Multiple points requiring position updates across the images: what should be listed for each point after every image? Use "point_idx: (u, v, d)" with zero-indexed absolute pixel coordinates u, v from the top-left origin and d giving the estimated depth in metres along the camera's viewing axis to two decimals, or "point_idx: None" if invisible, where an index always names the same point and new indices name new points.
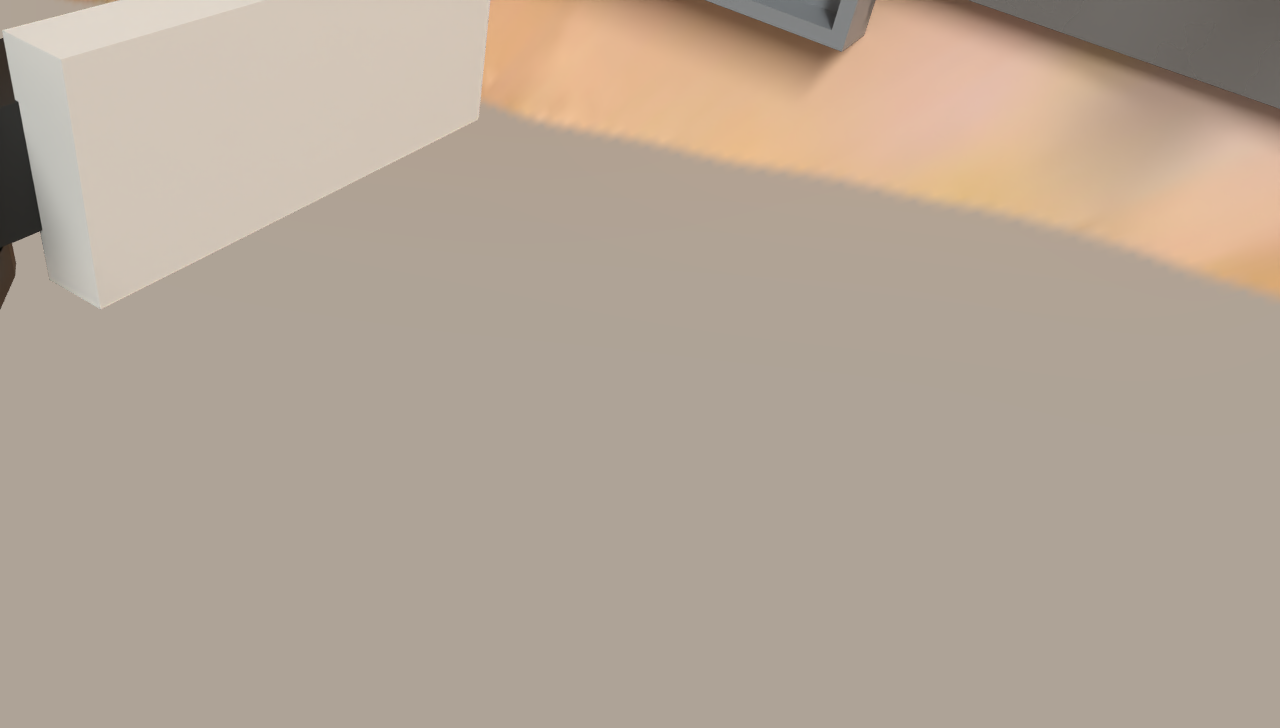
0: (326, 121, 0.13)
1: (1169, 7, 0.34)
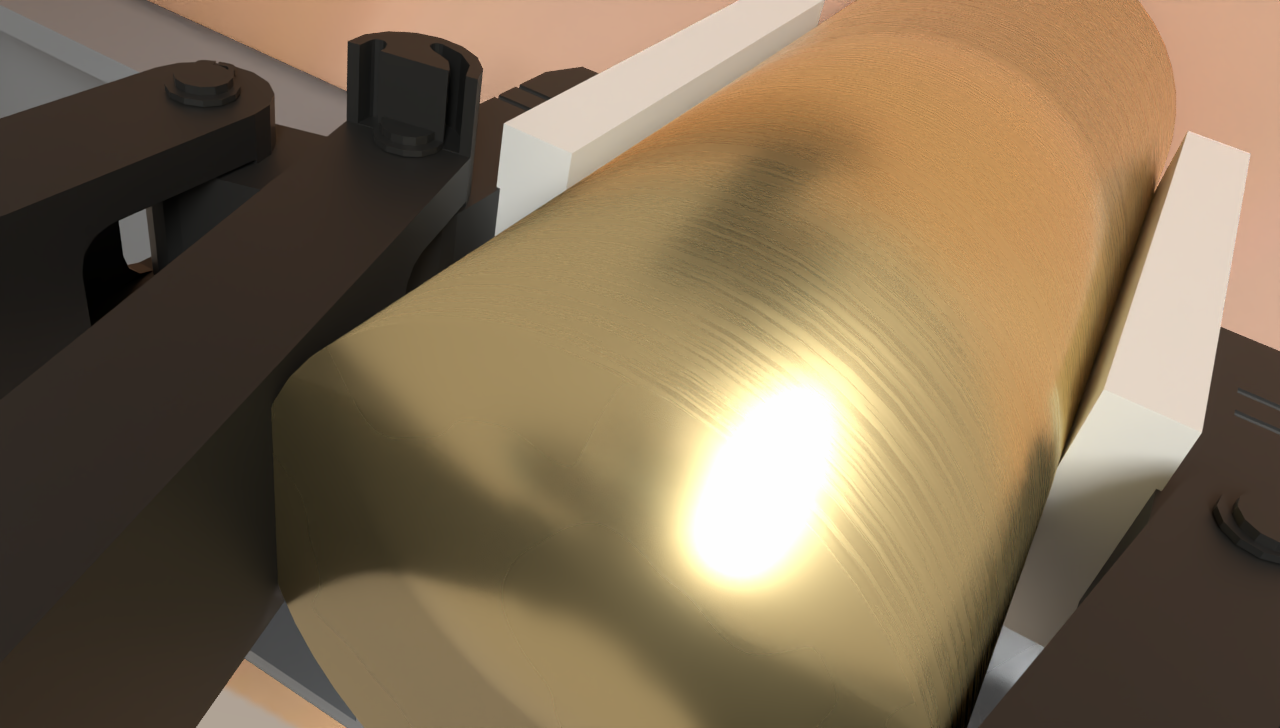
0: None
1: None
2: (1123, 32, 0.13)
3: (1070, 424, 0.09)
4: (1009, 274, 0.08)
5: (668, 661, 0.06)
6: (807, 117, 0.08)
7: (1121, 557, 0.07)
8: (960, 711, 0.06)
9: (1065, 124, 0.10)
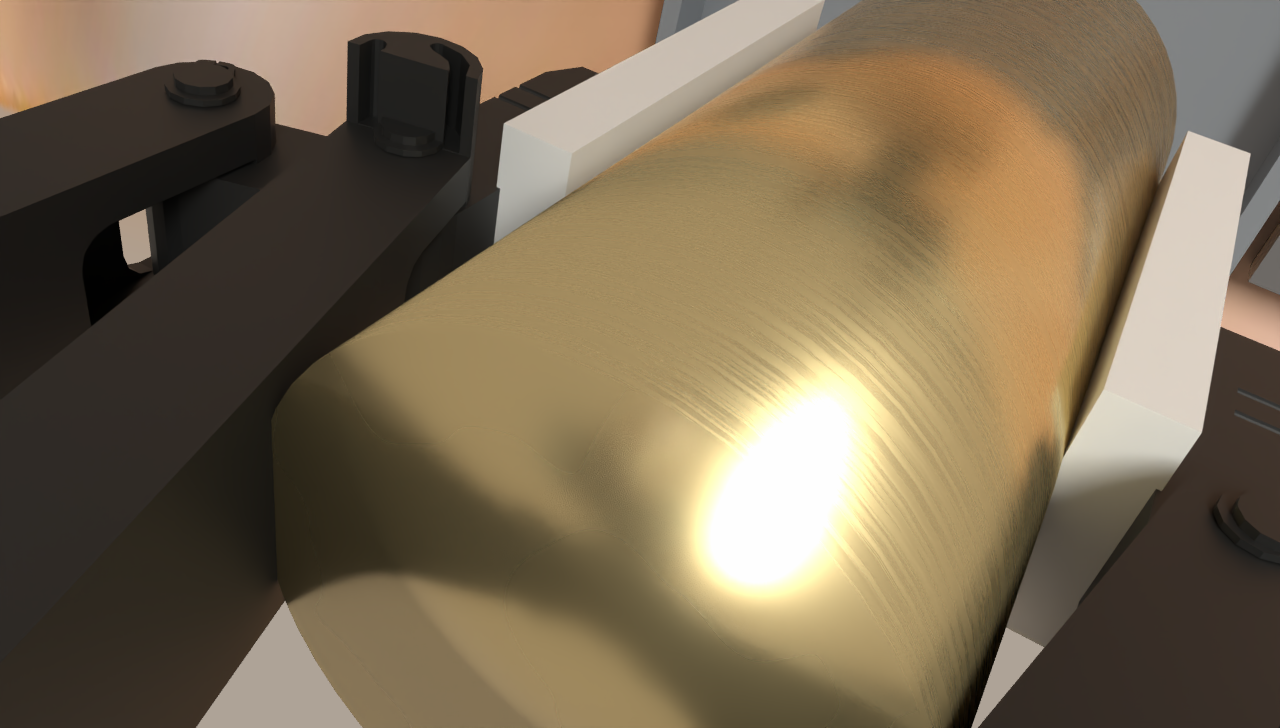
0: None
1: None
2: (1124, 35, 0.13)
3: (1072, 429, 0.09)
4: (1010, 279, 0.08)
5: (672, 668, 0.06)
6: (809, 122, 0.08)
7: (1121, 557, 0.07)
8: (963, 718, 0.06)
9: (1066, 129, 0.10)
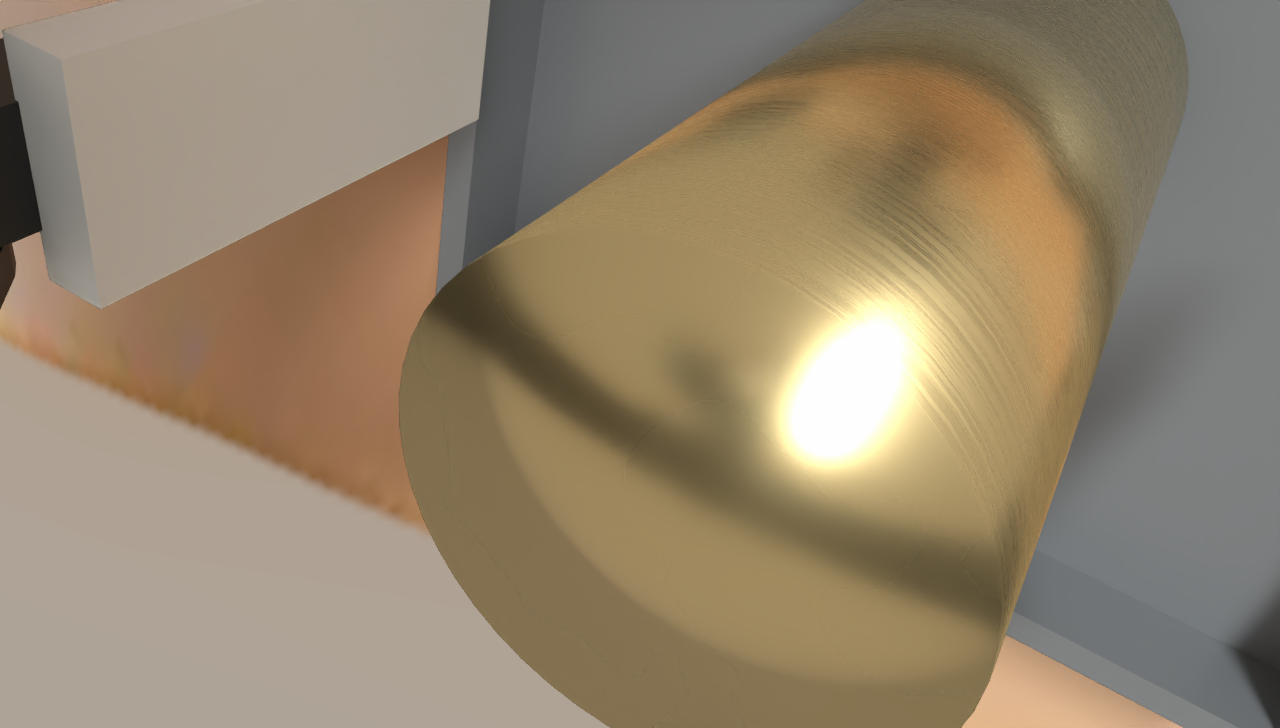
0: (326, 121, 0.13)
1: None
2: (1141, 9, 0.14)
3: (1101, 348, 0.10)
4: (1052, 208, 0.09)
5: (773, 522, 0.07)
6: (871, 73, 0.10)
7: None
8: (1021, 560, 0.07)
9: (1093, 87, 0.11)
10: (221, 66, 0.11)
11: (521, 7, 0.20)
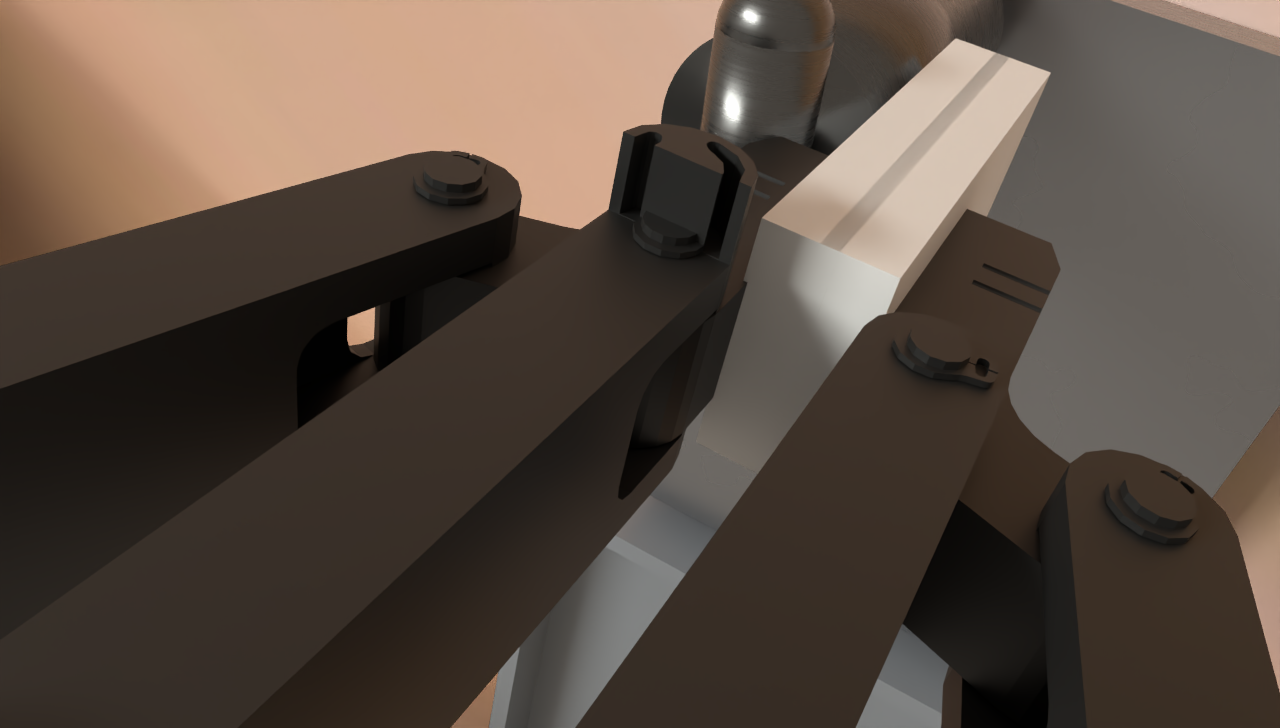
0: None
1: (1154, 410, 0.22)
2: None
3: None
4: None
5: None
6: None
7: (814, 396, 0.08)
8: None
9: None
10: None
11: None
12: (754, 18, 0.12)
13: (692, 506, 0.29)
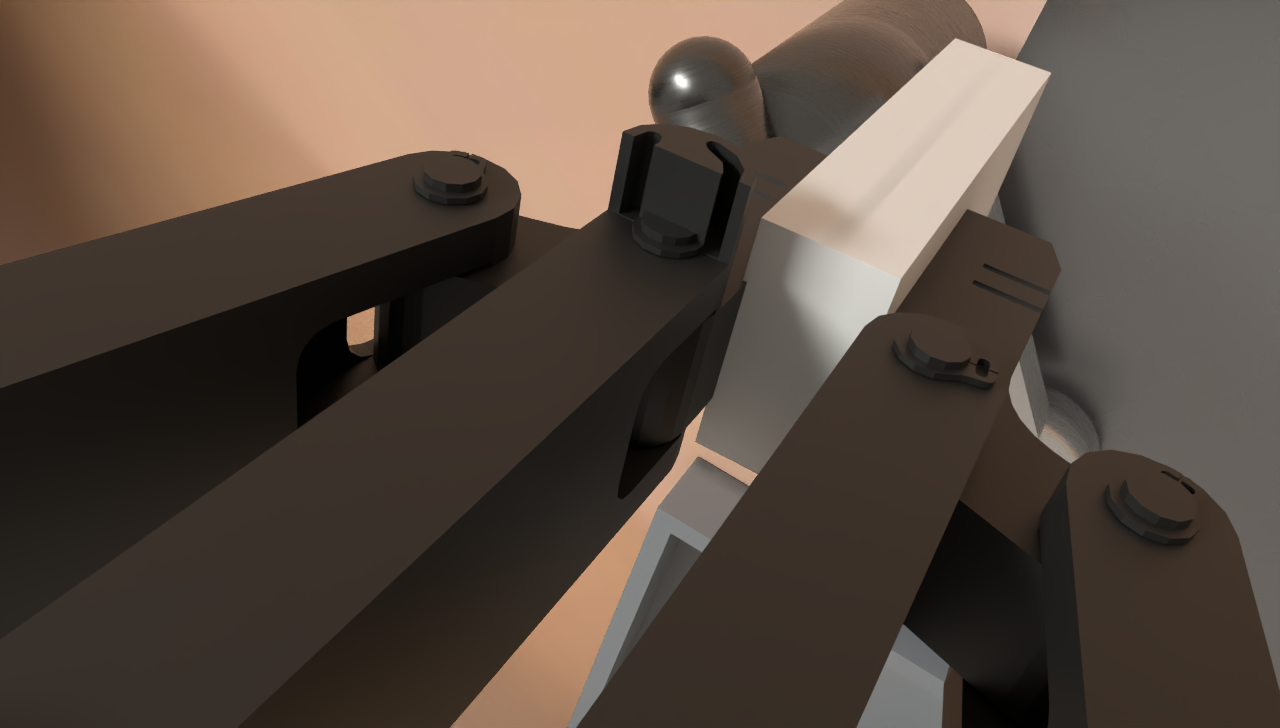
0: None
1: None
2: None
3: None
4: None
5: None
6: None
7: (814, 396, 0.08)
8: None
9: None
10: None
11: None
12: (671, 88, 0.13)
13: None
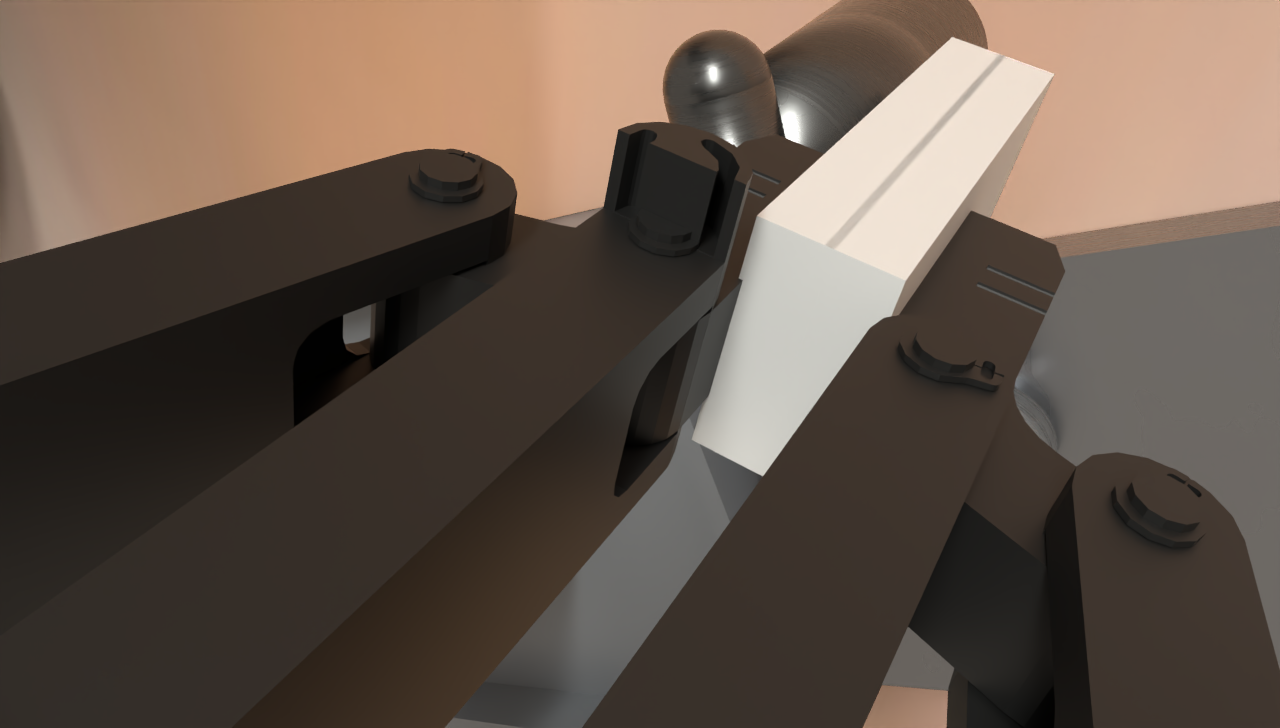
0: None
1: None
2: None
3: None
4: None
5: None
6: None
7: (819, 399, 0.08)
8: None
9: None
10: None
11: None
12: (687, 81, 0.13)
13: None
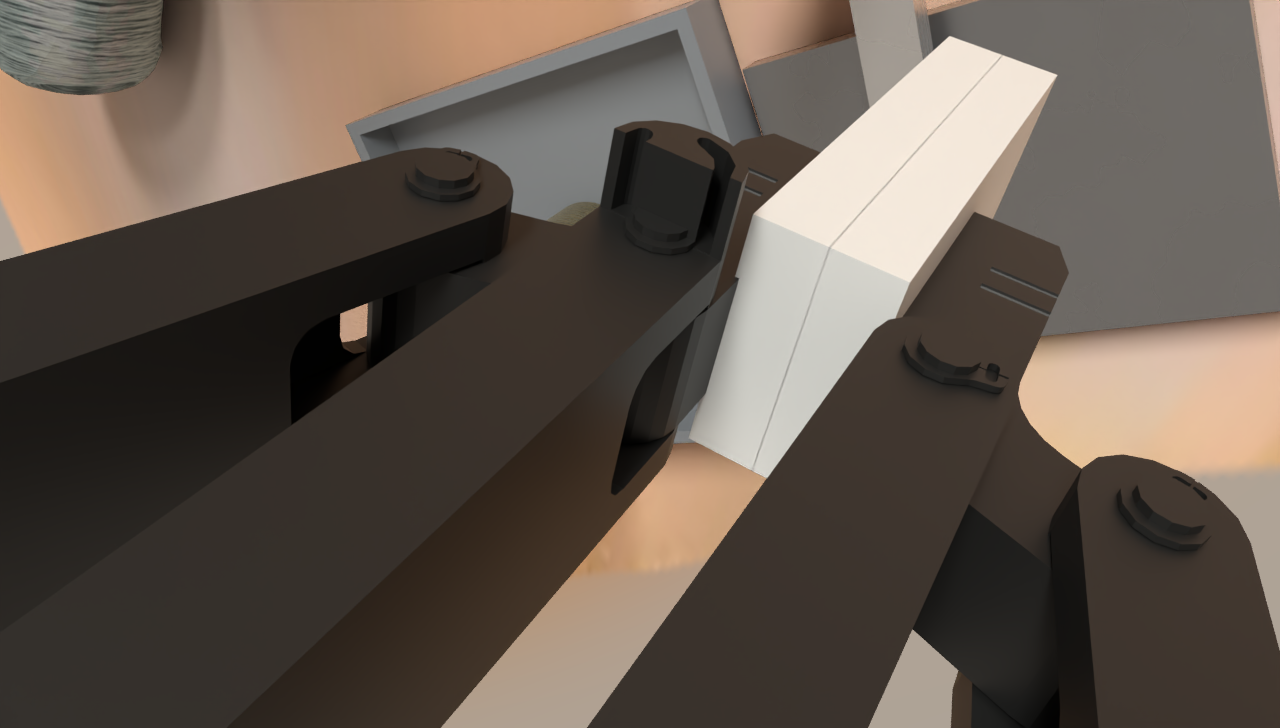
0: None
1: None
2: None
3: None
4: None
5: None
6: None
7: (824, 400, 0.08)
8: None
9: None
10: None
11: None
12: None
13: (764, 107, 0.39)
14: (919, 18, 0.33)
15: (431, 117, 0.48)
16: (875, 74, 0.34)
